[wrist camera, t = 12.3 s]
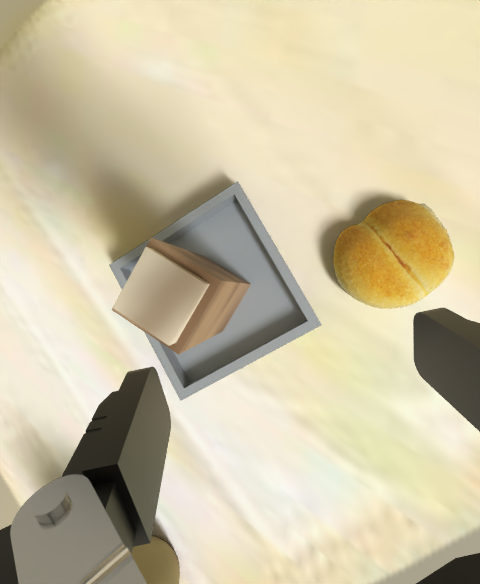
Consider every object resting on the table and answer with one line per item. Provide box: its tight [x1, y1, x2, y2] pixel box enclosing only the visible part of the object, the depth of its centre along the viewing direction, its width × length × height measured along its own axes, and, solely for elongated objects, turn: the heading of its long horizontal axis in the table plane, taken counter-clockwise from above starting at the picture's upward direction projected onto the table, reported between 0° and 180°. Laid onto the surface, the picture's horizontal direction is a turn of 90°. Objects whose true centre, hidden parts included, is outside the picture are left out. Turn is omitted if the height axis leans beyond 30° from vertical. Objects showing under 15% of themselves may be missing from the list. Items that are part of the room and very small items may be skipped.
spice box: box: [112, 238, 251, 355], centre depth 24 cm, size 5×5×12 cm
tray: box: [109, 182, 321, 400], centre depth 29 cm, size 14×14×2 cm
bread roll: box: [333, 200, 454, 309], centre depth 26 cm, size 8×9×4 cm
